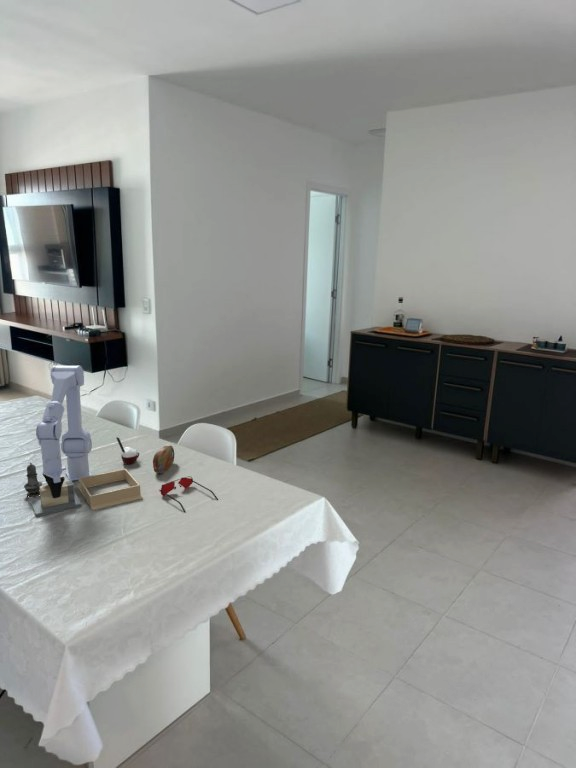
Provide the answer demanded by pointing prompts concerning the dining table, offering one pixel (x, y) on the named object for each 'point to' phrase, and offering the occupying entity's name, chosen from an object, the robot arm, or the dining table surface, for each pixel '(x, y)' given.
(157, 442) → the dining table surface
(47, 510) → the slate board
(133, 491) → the wooden tray
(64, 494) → the capped box
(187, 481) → the glasses
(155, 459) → the tin
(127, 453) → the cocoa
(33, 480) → the salt shaker
